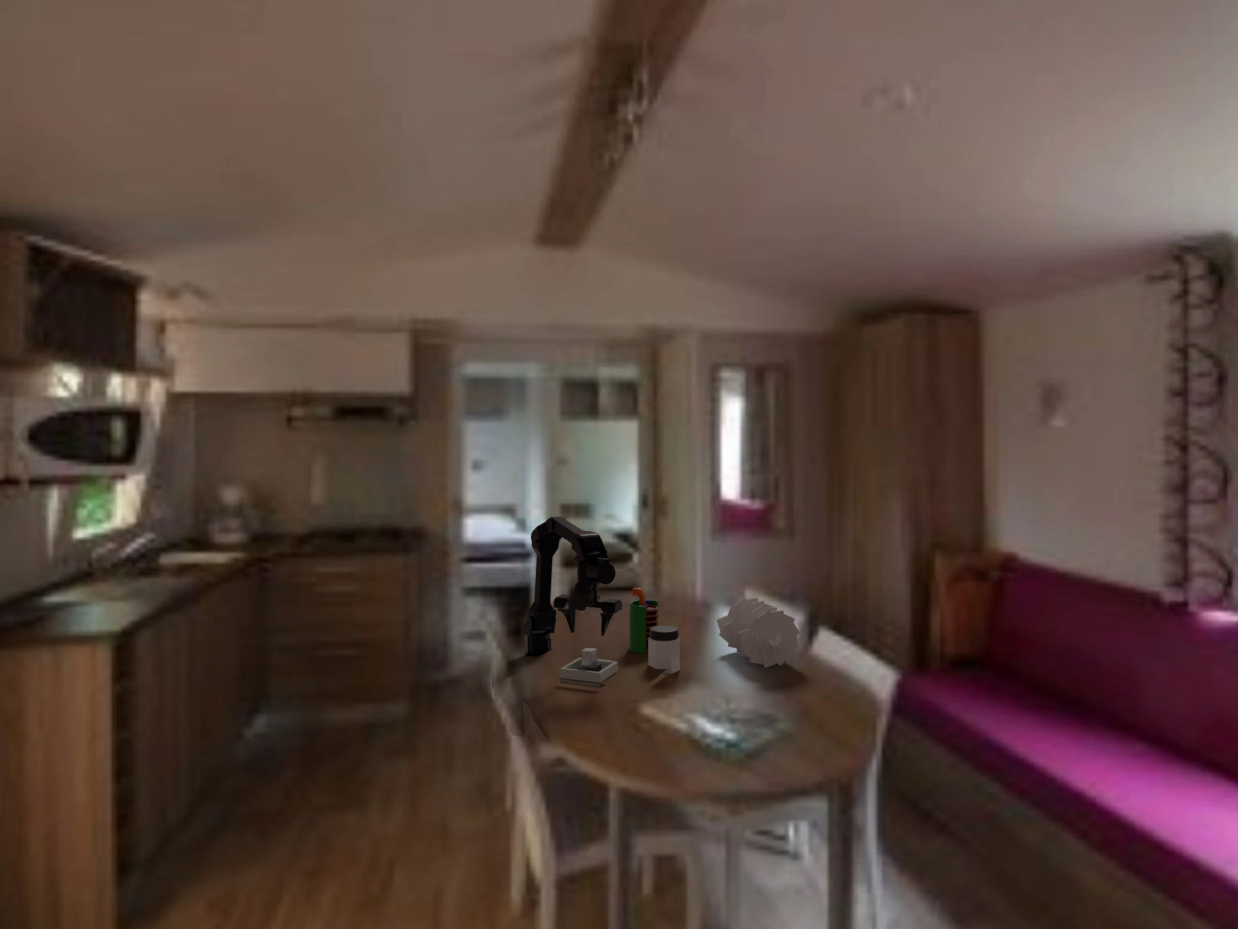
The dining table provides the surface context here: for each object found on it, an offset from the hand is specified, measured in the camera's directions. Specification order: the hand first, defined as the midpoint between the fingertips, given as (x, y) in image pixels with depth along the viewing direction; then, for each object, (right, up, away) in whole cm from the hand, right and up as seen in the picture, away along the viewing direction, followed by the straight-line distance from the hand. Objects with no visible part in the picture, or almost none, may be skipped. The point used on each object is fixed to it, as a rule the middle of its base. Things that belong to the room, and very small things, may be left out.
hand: (587, 634), depth 240 cm
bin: (+1, -12, -1) cm, 12 cm away
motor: (+16, -11, +26) cm, 32 cm away
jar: (+22, -12, +7) cm, 26 cm away
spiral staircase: (+50, -11, +18) cm, 54 cm away
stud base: (+4, -12, +11) cm, 17 cm away
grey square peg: (+1, -12, -1) cm, 12 cm away
